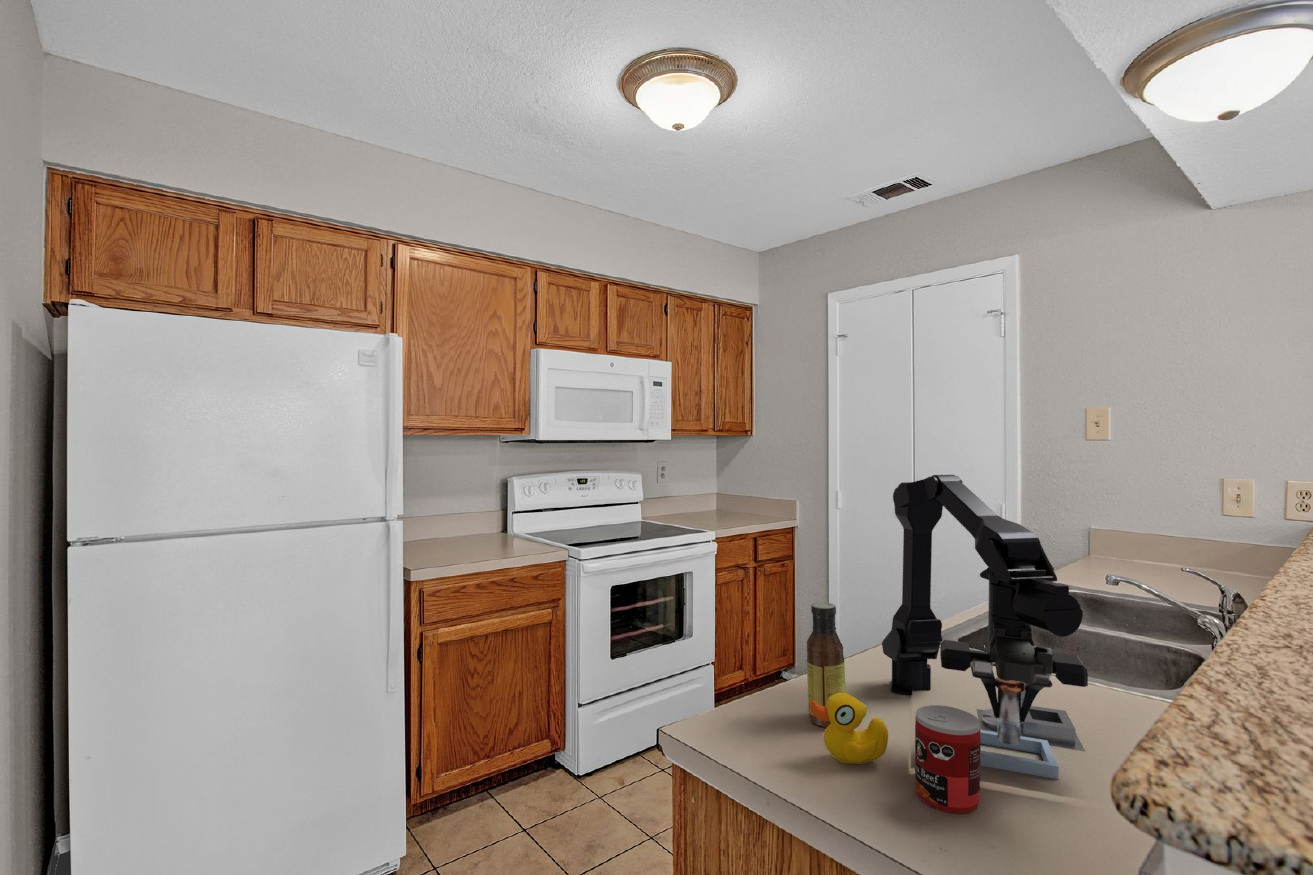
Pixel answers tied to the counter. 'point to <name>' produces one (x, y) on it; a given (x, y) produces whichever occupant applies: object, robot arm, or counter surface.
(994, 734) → the tray
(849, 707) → the duckling
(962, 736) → the canned food
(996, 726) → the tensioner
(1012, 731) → the lock pin
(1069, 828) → the counter surface
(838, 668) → the sauce bottle
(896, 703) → the counter surface
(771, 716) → the counter surface
